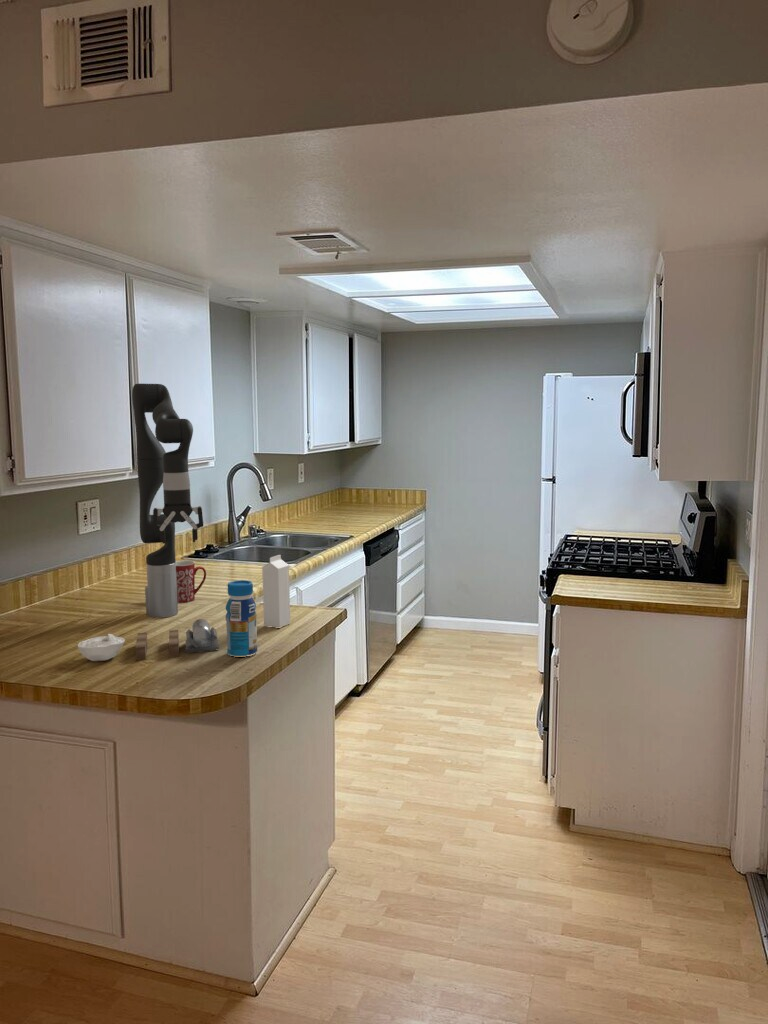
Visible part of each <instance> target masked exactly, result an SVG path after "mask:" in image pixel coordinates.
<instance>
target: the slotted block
mask: <svg viewBox="0 0 768 1024" xmlns="http://www.w3.org/2000/svg"><path fill="white" fill-rule="evenodd" d="M179 637H180V636H179V629H173V630H169V632H168V654H169V656H168V657H169V658H175V657H176V658H177V657H180V642H179V641H180V639H179ZM135 642H136V643H135V648H134V649H135V661H142V660H146V659H147V652H148V632H138V633H137V637H136V641H135Z"/></svg>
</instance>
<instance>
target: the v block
mask: <svg viewBox="0 0 768 1024" xmlns="http://www.w3.org/2000/svg"><path fill="white" fill-rule="evenodd" d="M210 633H211V642H210V644H209V645H207V646H206V647H198V646H197V645H195V643H194V641H193V630H191V629H188V630H187V631H186V632H185V634H186V636H185V638H186V639H185V640H184V641H185V653H186V654H189V653H190V652H192V653H199V652H198V651H203V652H208V651H207V650H214V651H217V650H216V649H219V650H220V644H219V639H218V633H217V630H216V628H215V627H210ZM190 654H191V653H190Z"/></svg>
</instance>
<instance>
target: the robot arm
mask: <svg viewBox="0 0 768 1024" xmlns="http://www.w3.org/2000/svg"><path fill="white" fill-rule="evenodd" d="M131 392H132V393H131V399H132V409H133V417H134V419H133V420H134V424H135V425H134V428H135V438H136V442H135V443H136V465H137V466H136V468H137V478H138V479H137V480H138V489H139V491H138V492H139V493H138V494H139V535H140V539H141V542H142V543H143V544H157V543H158V544H160V543H161V544H163V545H162V546H161V547H160V548H159V549H157V550H155V551H153V552H150V553H149V554H147V555H146V557H145V559H146V560H145V563H146V580H147V583H146V584H147V585H146V586H145V587H144V595H145V596H144V598H145V615H146V616H149V617H151V618H169V617H173V616H176V615H177V614H179V606H178V602H177V581H176V561H177V559H176V547H175V546H176V542H175V541H176V523H184V522H187V524H189V526H191V528H192V531H191V533H192V543H195V542H196V541H197V540H198V529H201V528H203V527H204V518H203V517H204V516H203V509H202V508H203V507H202V506H196V507H195V506H194V507H193V506H192V503H191V501H192V500H191V481H190V479H191V478H190V474H189V453H190V447H191V442H192V440H193V435H194V434H193V433H194V426H193V424H192V422H191V421H190V420H189V419H188V418H180V416H179V415H178V413H177V412H176V410H175V409H174V406H173V402H172V398H171V395H170V392H169V390H168V388H167V386H165V384H162V383H134V384H133V386H132V390H131ZM146 413H147V414H148V413H150V414H151V413H152V415H151V417H152V420H153V423H154V424H155V428H154V429H155V430H154V433H153V431H152V430H151V428H150V426H149V423H148V421H147V417H146ZM161 443H162V444H179V446H178V448H176V449H174V450H170V451H166V450H165V448H164V446H163V445H162V444H161ZM161 487H162V489H163V507H162V508H157V507H154V508H153V510H152V514H151V513H150V512H151V508H152V504H153V501H155V497H156V496H157V493H158V491H159V490H160V488H161ZM193 512H195V515H197V516H198V523H195V522H194V520H193V519H192V518H191V517H190V516H191V515H192V513H193Z"/></svg>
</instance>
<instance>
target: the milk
mask: <svg viewBox="0 0 768 1024" xmlns="http://www.w3.org/2000/svg"><path fill="white" fill-rule="evenodd" d="M281 556H282V555H281V554H277V555H274V556H271V557H269V562H268V563H267V564H265V565H263V566H262V567H261V569H262V570H261V573H262V600H263V601H262V605H263V606H262V607H263V627H264V626H272V627H281V626H284V625H286V624H288V623H290V624H291V597H290V596H291V594H290V565H289V564H288V563H287V562H285V561H284V560H283V559H282V557H281Z"/></svg>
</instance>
